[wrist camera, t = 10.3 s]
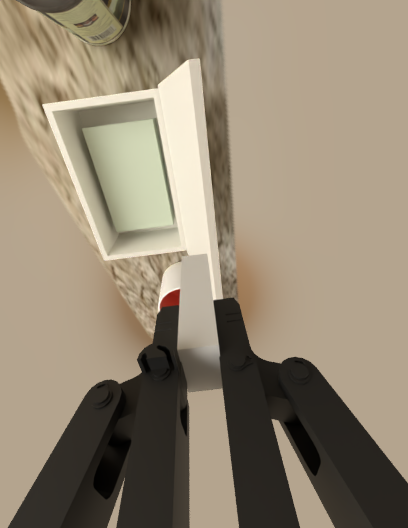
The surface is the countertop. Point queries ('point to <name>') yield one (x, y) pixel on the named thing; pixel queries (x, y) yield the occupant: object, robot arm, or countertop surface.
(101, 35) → the coffee can
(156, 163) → the box
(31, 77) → the countertop surface
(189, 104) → the lid
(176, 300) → the cup
